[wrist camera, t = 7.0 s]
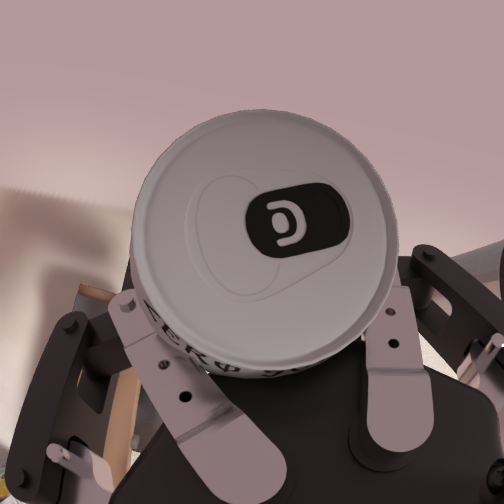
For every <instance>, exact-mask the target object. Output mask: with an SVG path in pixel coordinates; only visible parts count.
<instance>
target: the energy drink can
mask: <svg viewBox="0 0 504 504" xmlns="http://www.w3.org/2000/svg"><path fill="white" fill-rule="evenodd" d="M131 231H132V234H131V242H130V250H129V254H130V268H131V278H132V282H133V285H134V289H135V292H136V295H137V299H138V302H139V304H140V306H141V308H142V310H143V312H144V314H145V315H146V317H147V319H148V321H149V323H150V325H151V326H152V327H153V329H154V330H155V331H156V332H157V333H158V335H159V336H160V337H161V338H162V339H163V340H164V341H166V342H167V343H168V344H169V345H171V346H173V347H175V348H177V349H178V350H180V351H182V352H184V353H186V354H188V355H190V356H192V357H194V358H195V359H196V360H197V361H198V363H199V364H200V365H201V366H202V368H203V369H204V370H205V371H207V372H210V373H212V374H214V375H222V376H230V377H238V378H273V377H278V376H283V375H288V374H293V373H297V372H300V371H303V370H305V369H308V368H310V367H313V366H315V365H318V364H320V363H322V362H324V361H326V360H327V359H329V358H330V357H332V356H334V355H335V354H337V353H338V352H340V351H341V350H343V349H344V348H345V347H346V346H347V345H349V344H350V343H351V342H353V341H354V340H355V339H357V338H358V337H359V336H360V335H361V334H362V333H363V332H364V331H365V329H366V328H367V327H368V326H369V325H370V324H371V323H372V321H373V320H374V319H375V318H376V317H377V315H378V313H379V311H380V310H381V308H382V306H383V304H384V303H385V301H386V299H387V297H388V295H389V293H390V290H391V287H392V283H393V280H394V277H395V274H396V270H397V262H398V253H399V236H398V225H397V219H396V215H395V212H394V208H393V204H392V201H391V198H390V196H389V194H388V191H387V189H386V187H385V185H384V183H383V181H382V179H381V177H380V176H379V174H378V173H377V172H376V170H375V169H374V167H373V166H372V164H371V163H370V162H369V160H368V159H367V158H366V157H365V156H364V155H363V154H362V153H361V152H360V151H359V150H358V149H357V148H356V147H355V146H354V145H353V144H352V143H351V142H350V141H349V140H347V139H346V138H344V137H343V136H342V135H340V134H339V133H337V132H336V131H334V130H333V129H331V128H330V127H327V126H325V125H323V124H321V123H319V122H317V121H315V120H313V119H311V118H307V117H304V116H301V115H297V114H294V113H290V112H285V111H276V110H267V109H259V110H243V111H237V112H233V113H229V114H225V115H221V116H217V117H215V118H213V119H210V120H208V121H206V122H203V123H201V124H199V125H197V126H195V127H193V128H192V129H191V130H189V131H188V132H186V133H185V134H183V135H182V136H180V137H179V138H178V139H176V140H175V141H174V142H173V143H172V144H171V145H170V146H169V147H168V148H167V149H166V150H165V151H164V152H163V153H162V154H161V155H160V157H159V158H158V159H157V161H156V162H155V164H154V165H153V167H152V168H151V170H150V171H149V173H148V175H147V176H146V178H145V180H144V182H143V185H142V187H141V190H140V193H139V195H138V198H137V201H136V204H135V209H134V215H133V222H132V228H131Z"/></svg>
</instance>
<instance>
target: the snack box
mask: <svg viewBox="0 0 504 504" xmlns="http://www.w3.org/2000/svg"><path fill="white" fill-rule="evenodd" d="M5 468H6V467H0V504H26V503H23V502H21V501H19V500H17V499H15V498H14V497H13V496H12V495H11V494H10V492H9V491H8V489H7V487H6V484H5V478H4V473H5Z"/></svg>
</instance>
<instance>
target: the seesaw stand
mask: <svg viewBox="0 0 504 504" xmlns="http://www.w3.org/2000/svg"><path fill="white" fill-rule="evenodd" d="M162 423H163V420H162V418H161V417H160V415H159V413H158V412H157V410H156V408H155V407H154V405H153V403H152V402H151V400H150V398H149V396H148V395H147V393H146V391H145V389H144V387H143V386H142V384H141V387H140V393H139V400H138V406H137V413H136V420H135V427H134V434H136V435H139V436H140V440H139V445H138V448H137V449H133V448H132V450H133V451H136V452H140V453H141V452H142V451H143V450H144V448H145V447H146V445H147V444H148V443H149V441H150V440H151V438H152V437H153V436H154V434H155V433H156V431H157V430H158V429H159V427H160V426H161V424H162Z"/></svg>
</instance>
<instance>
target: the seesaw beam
mask: <svg viewBox="0 0 504 504" xmlns="http://www.w3.org/2000/svg"><path fill="white" fill-rule="evenodd" d="M116 295H117V294H115V293H111V292H107V291H104V290H100V289H97V288H93V287H90V286H86V285H83V284H80V287H79V290H78V294H77V295H76V299H75V303H74V307H73V311H72V312H74V311H81V312H83V313H85V314H86V316H87V317H88V319H89V320H90V319H92V318H94V317H97V316H99V315H101V314H104V313H106V312H107V311H108V305H109V303H110V301H111V300H112V298H113V297H114V296H116ZM81 374H82V370H81V373H80V376H79V379H78V383H79V380H80V377H81ZM78 383H77V386H78ZM140 387H141V382H140V380H139V378H138V376H137V374H136V372H135V370H134V368H133V367H130V368H128V369H126V370H123V371H121V372H120V374H119V378H118V382H117V387H116V391H115V395H114V400H113V405H112V409H111V414H110V419H109V424H108V430H107V435H106V441H105V447H104V453H103V459H105V460H106V462H107V463H108V464H109V466H110V469H111V473H112V480H113V483H112V484H113V486H114V488H116V487H117V486H118V484H119V483H120V482H121V480H122V479H123V477H124V476H125V475H126V473H127V472H128V471H129V469H130V462H131V452H132V448H133V449H137V448H138V445H139V440H140V436H139V435H136V434H134V427H135V420H136V413H137V406H138V400H139V393H140Z"/></svg>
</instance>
